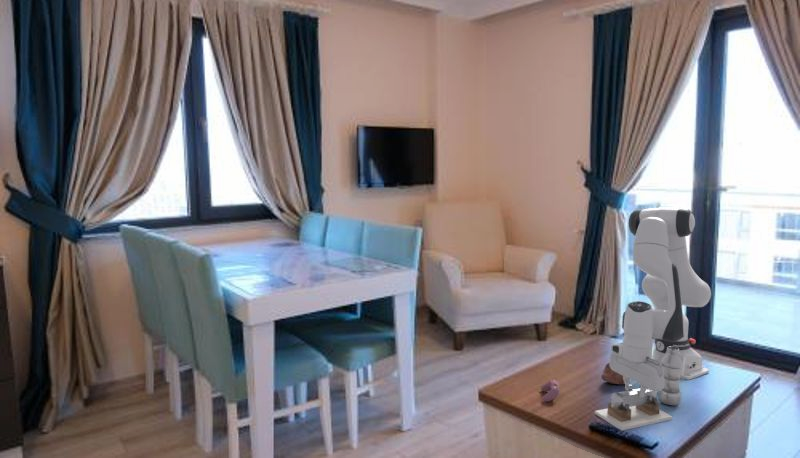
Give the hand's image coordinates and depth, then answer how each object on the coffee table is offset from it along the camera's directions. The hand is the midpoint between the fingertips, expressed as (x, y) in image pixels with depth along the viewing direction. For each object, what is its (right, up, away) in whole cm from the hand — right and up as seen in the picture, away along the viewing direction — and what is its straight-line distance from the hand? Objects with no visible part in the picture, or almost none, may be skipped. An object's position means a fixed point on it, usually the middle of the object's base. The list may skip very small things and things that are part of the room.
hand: (634, 393), depth 173 cm
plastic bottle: (+17, -7, +10) cm, 21 cm away
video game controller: (-23, -7, +16) cm, 29 cm away
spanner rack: (0, -8, +1) cm, 8 cm away
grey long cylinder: (0, -4, 0) cm, 4 cm away
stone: (+6, -5, +27) cm, 28 cm away
